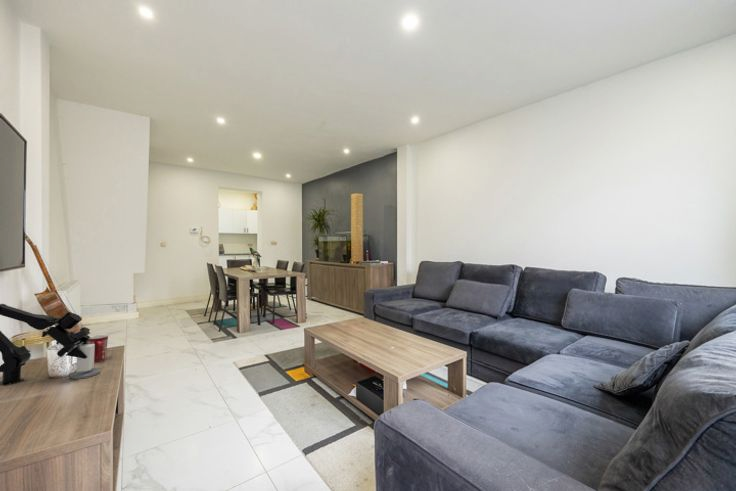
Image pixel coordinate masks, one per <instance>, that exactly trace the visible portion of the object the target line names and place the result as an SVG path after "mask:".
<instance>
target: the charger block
mask: <svg viewBox="0 0 736 491" xmlns="http://www.w3.org/2000/svg"><path fill="white" fill-rule="evenodd" d="M80 350H81V351H82V352H83V353H84V354H85V355H86V356H87V358H86V359H84V358H79V357H76V364H75V365H76V367H75V372H82V371H89V370H91V369H92V368H95V362H94V350H95V344H85V345H81V346H80Z"/></svg>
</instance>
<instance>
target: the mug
mask: <svg viewBox="0 0 736 491" xmlns="http://www.w3.org/2000/svg"><path fill="white" fill-rule="evenodd" d="M90 337H91V338H89V339H88V344H95V350H94V363H97V362H102V361H105V360H106V358H107V350H108V340H109V339H108V338H109V334H96V335H92V336H90Z"/></svg>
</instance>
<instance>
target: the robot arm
mask: <svg viewBox="0 0 736 491" xmlns="http://www.w3.org/2000/svg"><path fill="white" fill-rule="evenodd" d="M0 316H2V317H6V318H9V319H13V320H16V321H19V322H23V323H25V324H27V325H28V326H29V327H31V328H33V329H34V330H38V331H42V333H41V334H42V335H41V338H45V337H47V336H49V337H50V338H51V339H52V340H54V341H55V344H56V345H59V344H60V345H61V346H62V348H60V349H59V350H58V351H57V353H56V355H57V356H58V357H60V358H62V357H63V356H65V357H74V358H77V357H79V358H84V359H86V358H87V356H86V355H85V354H84V353H83V352H82V351H81V350H80V346H81V345H85V344H88V339H89V338H91V337H90V336H89V335H91V332H90V331H91V329H90V328H89V327H85V326H84V327H82V328H80V329H79V330H78V331H77V332H75V331H71V332H70V331H69V330H71V329H72V328H74V327H75V326H76V325H77V324H79V323H80V322H81V321H83V318H82V316H80V315H79V314H76V313H74V312H71V311H68V312H67V313H65V314H64V315H63V316H62V317H54V316H53V315H48V314H39V313H38V314H37V313H32V312H29V311H26V310H22V309H19V308H16V307H13V306H10V305H7V304H6V303H5V304H4V303H0ZM46 329H47V330H46ZM0 353H1V359H2V361H3V363H2V364H1V365H0V373H2V377H1V378H2V380H0V385H3V386H7V385H11V384H14V383H15V384H16V383H19V382H23V381H25V379H24V378H22V377H21V376H22V367H23V366H25V365H26V363H27V362H28V361H29V360H30V359H31V357H32V356H31V355H32V354H31V350H29V349H27V347H26V346H25V345H21V346H17V345H15V344H14V343H13V342H12V341H11V340H10V339H9V337H7V336H6V335H5V334H4V333H3V332H2V331H1V330H0Z"/></svg>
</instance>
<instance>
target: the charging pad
mask: <svg viewBox="0 0 736 491" xmlns="http://www.w3.org/2000/svg"><path fill="white" fill-rule="evenodd" d="M99 374H100V369H99V368H97V367H93V368H92V369H91V370H89V371H82V372H76V371H74V372H71V373H70V374H69V379H70V380H81V379H88V378H92V377H95V376H96V375H99Z"/></svg>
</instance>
